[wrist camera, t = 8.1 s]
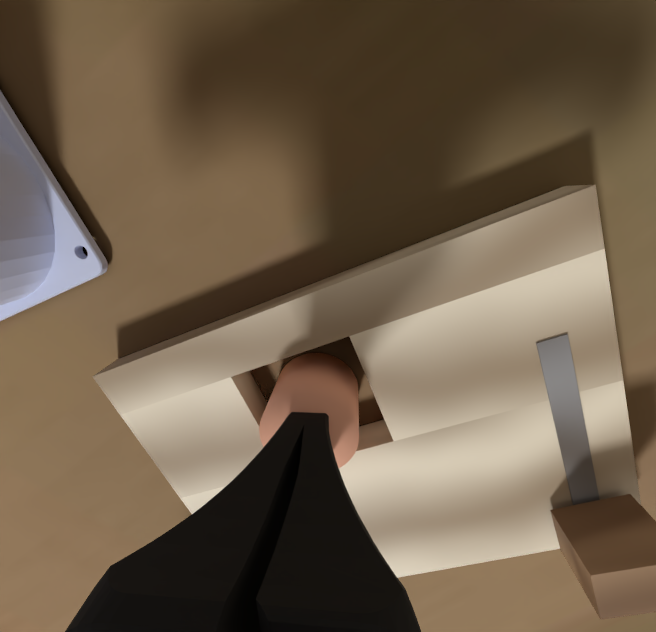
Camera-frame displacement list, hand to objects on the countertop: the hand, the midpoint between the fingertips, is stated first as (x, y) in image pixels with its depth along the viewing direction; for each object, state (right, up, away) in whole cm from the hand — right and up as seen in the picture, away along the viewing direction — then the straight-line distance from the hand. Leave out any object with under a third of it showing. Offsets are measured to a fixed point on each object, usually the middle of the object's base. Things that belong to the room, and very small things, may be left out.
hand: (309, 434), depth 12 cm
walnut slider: (+12, -4, +2) cm, 13 cm away
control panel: (+3, -1, +3) cm, 4 cm away
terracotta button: (0, +1, +3) cm, 3 cm away
